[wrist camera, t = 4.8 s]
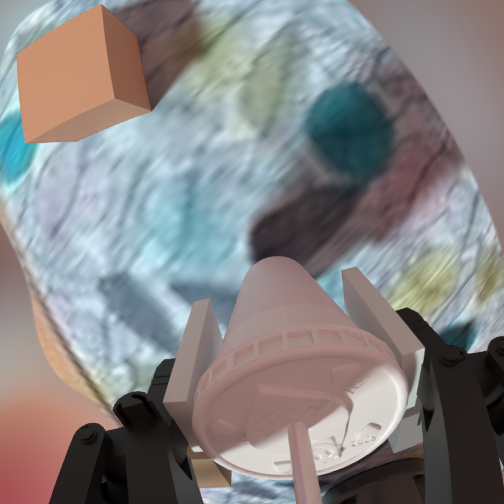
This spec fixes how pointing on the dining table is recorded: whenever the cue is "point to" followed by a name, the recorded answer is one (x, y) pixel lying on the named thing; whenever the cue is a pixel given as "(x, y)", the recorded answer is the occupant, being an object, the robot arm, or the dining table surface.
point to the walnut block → (208, 471)
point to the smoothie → (295, 384)
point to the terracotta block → (81, 79)
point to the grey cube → (407, 430)
